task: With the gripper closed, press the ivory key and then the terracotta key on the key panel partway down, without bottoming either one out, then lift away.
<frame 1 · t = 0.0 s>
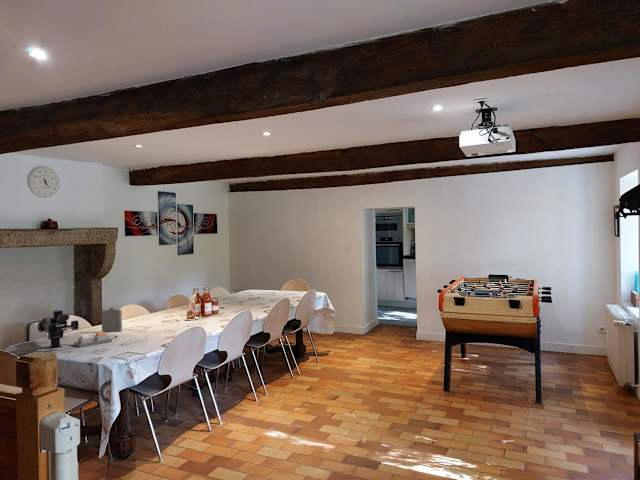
hand: (67, 328, 301), 17 cm above the table, tool horizontal, fingers open, 9 cm apart
key ivory: (85, 337, 324), point 5 cm above the table, slide at 0.0 cm
key panel: (93, 343, 328), on the table
hip flask: (112, 331, 368), on the table
key terracotta: (101, 334, 332), point 6 cm above the table, slide at 0.0 cm
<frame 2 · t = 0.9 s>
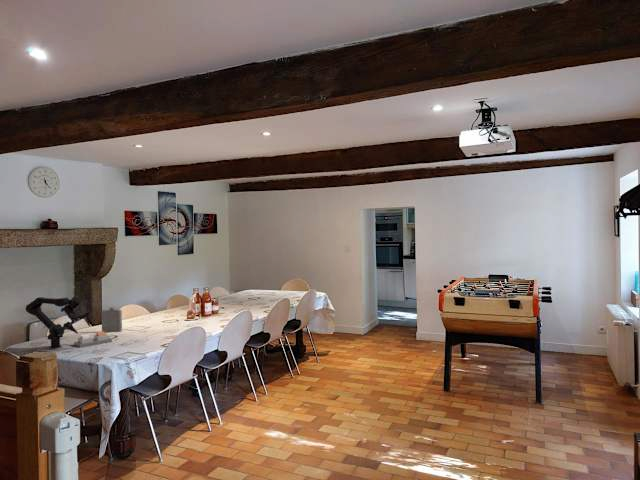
hand: (84, 329, 315), 13 cm above the table, tool tilted 40°, fingers open, 9 cm apart
nothing on the table moved.
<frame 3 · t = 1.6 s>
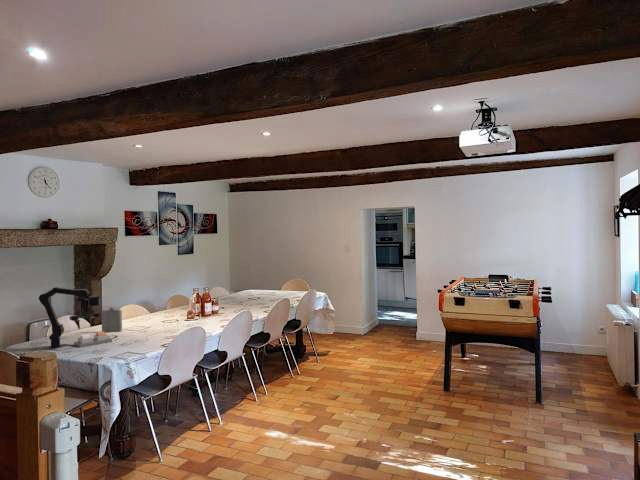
hand: (85, 328, 324), 12 cm above the table, tool pointing down, fingers open, 8 cm apart
nothing on the table moved.
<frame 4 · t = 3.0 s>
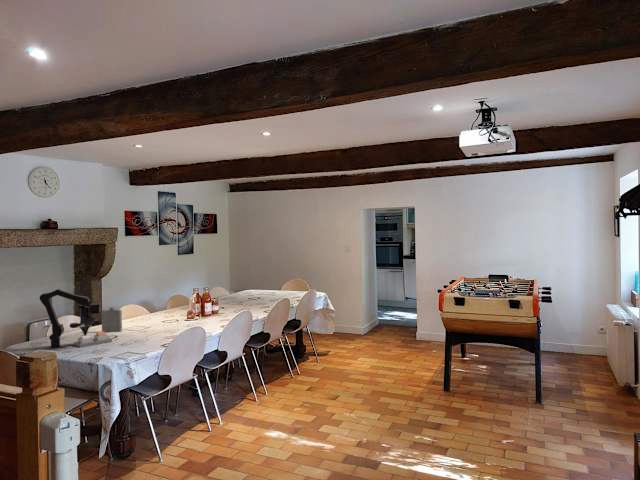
hand: (85, 335, 324), 7 cm above the table, tool pointing down, fingers closed, pressing on key ivory
key ivory: (85, 337, 324), point 5 cm above the table, slide at 0.4 cm, touching gripper
everything else where it was.
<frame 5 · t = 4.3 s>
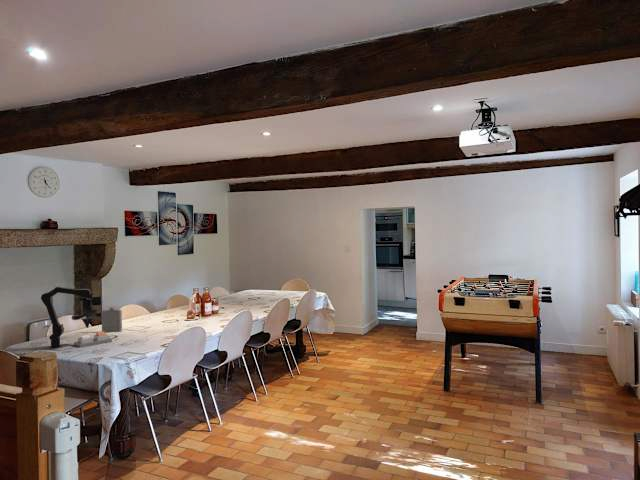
hand: (87, 327, 325), 12 cm above the table, tool pointing down, fingers closed
key ivory: (85, 338, 324), point 5 cm above the table, slide at 0.8 cm
everything else where it was.
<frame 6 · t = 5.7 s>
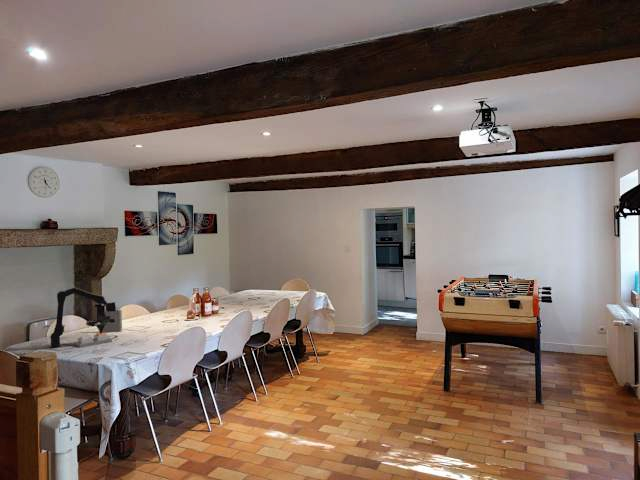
hand: (100, 333, 332), 6 cm above the table, tool pointing down, fingers closed, pressing on key terracotta
key terracotta: (101, 335, 332), point 5 cm above the table, slide at 0.6 cm, touching gripper
everything else where it was.
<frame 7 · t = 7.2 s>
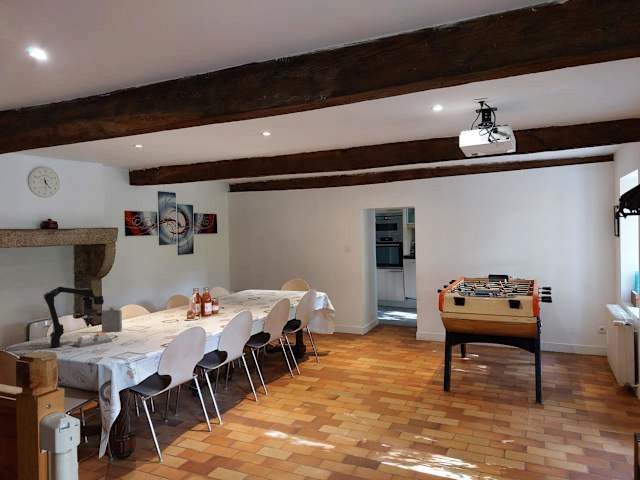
hand: (87, 326, 332), 12 cm above the table, tool pointing down, fingers closed
key terracotta: (101, 335, 332), point 5 cm above the table, slide at 0.7 cm
everything else where it was.
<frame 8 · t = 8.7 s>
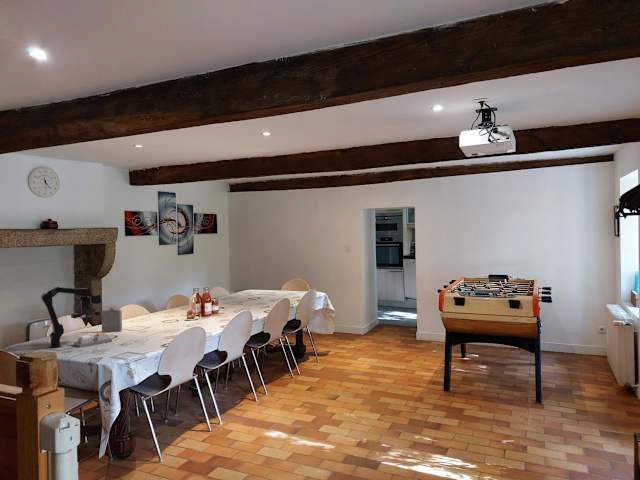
hand: (86, 325, 332), 12 cm above the table, tool pointing down, fingers closed
nothing on the table moved.
at the end: key ivory slide at 0.8 cm; key terracotta slide at 0.7 cm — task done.
